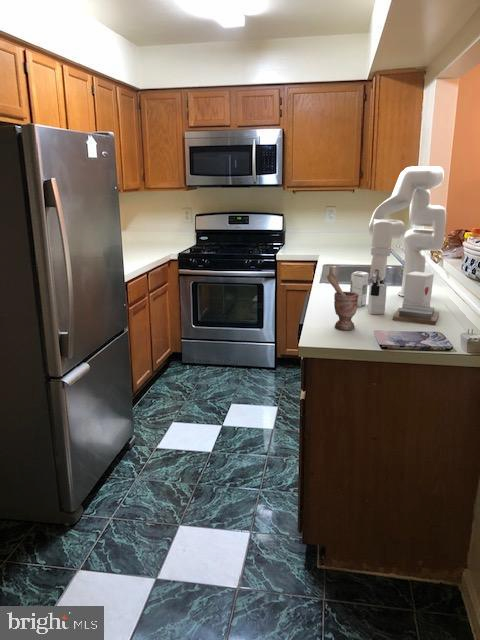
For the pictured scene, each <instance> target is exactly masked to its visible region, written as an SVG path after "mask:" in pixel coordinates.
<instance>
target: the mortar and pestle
mask: <svg viewBox="0 0 480 640" xmlns="http://www.w3.org/2000/svg"><path fill="white" fill-rule="evenodd" d="M326 278H327V280H328V282H329V283H330V285H331V286H332V288H333V289H334V290H335V292H334V294H333V295H334V298H333V299H334V301H333V303H334V307H333V308H334V312H335V314H336V315H337V316H338V320H337V321H336V322H335V323H334V328H335V329H337V330H343V331H354V330H355V329H356V328H355V327H356V326H355V323H354V322H353V321H352V319H353V317H354V316H355V315H356V312H357V309H358V306H357V304H358V294H357V293H354V292H350V291H343V290H342V288H341V286H340V284H339V282H338V280H337V278H336V276H335V274H334V273H329V274H328V275H326Z"/></svg>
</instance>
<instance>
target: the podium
mask: <svg viewBox="0 0 480 640" xmlns="http://www.w3.org/2000/svg"><path fill="white" fill-rule="evenodd" d="M439 316H440V311H435V307H431V306H430V307H423V306H413V305H403V304H402V306H401V307H398V308H397V310H396V311H395V313H394V314H393V315H392V321H399V322H405V323H407V322H408V323H415V324H416V323H417V324H425V325H433V326H436V325H437V322H438V319H439Z"/></svg>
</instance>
